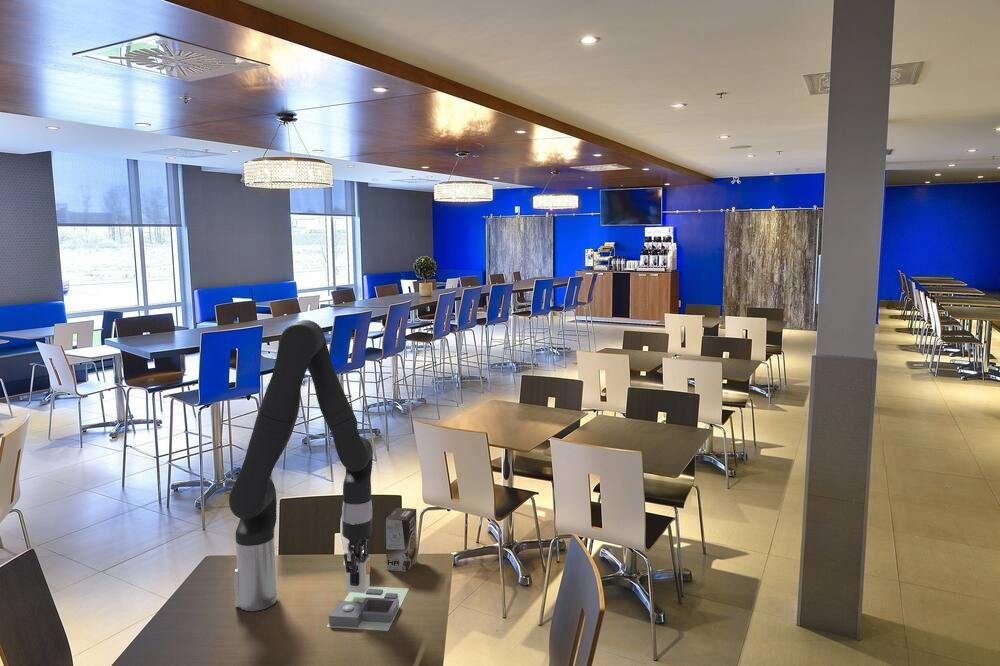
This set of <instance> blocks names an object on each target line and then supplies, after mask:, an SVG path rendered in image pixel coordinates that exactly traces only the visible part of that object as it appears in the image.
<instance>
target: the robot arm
mask: <svg viewBox="0 0 1000 666" xmlns="http://www.w3.org/2000/svg"><path fill="white" fill-rule="evenodd" d="M307 370H308V372H309V375H310V377H311V380H312V382H313V387H314V391H315V395H316V401H317V403H318V406H319V409H320V413H321V414H322V417H323V419H324V422H325V423H326V425H327V427H328V429H329V431H330V433H331V435H332V438H333V439H332V440H333V443H334V447H335V449H336V453H337V456H338V458H339V461H340V462H341V464H342V465H343V467H344V468H345V476H344V479H343V483H342V484H343V486H342V507H341V508H342V509H341V516H342V535H343V536H344V537H345V538H347V539H348V540H349V543H348V547H347V550H348V553H345V554H344V553H343V561H344V560H345V566H344V568H345V574H346V573H350V585H351V586H358V585H359V570H360V569H359V568H360V562H362V555H364V556H366V555H369V551H370V550H369V549H370V548H369V546H370V538H371V536H372V534H373V504H372V471H373V470H372V469H373V460H374V459H373V458H374V450H373V449H374V448H373V445H372V444H371V442H370V441H369V439H367V438H366V437H363V436H361V435H360V432H359V430H358V425H359V424H358V420H357V417H356V415H355V412H354V411H353V408H352V406H351V404H350V402H349V400H348V398H347V396H346V393H345V392H344V389H343V387H342V384H341V382H340V379H339V377H338V375H337V372H336V370H335V367H334V364H333V360H332V358H331V354H330V351H329V347H328V343H327V341H326V337H325V333H324V330H323V328H322V327H321V325H320V324H318V323H317V322H316V321H313V320H310V319H304V320H303V319H302V320H300V321H296V322H293V323H291V324H290V325H287V326H286V328H285V329H283V331H282V333H281V335H280V338H279V342H278V347H277V352H276V357H275V362H274V367H273V371H272V375H271V377H270V379H269V382H268V383H267V387H266V390H265V392H264V395H263V399H262V401H261V404H260V405H259V408H258V412H257V415H256V418H255V422H254V425H253V430H252V432H251V436H250V439H249V441H248V445H247V449H246V452H245V453H246V454H245V456H244V460H243V463H242V466H241V468H240V470H239V472H238V475H237V477H236V480H235V481H234V484H233V485H232V488H231V490H230V493H229V496H228V505H229V508H230V512H231V513H232V514H233V516H235V517H237V518H239V521H238V525H237V527H236V529H235V535H234V536H235V552H236V569H235V570H234V572H233V579H234V580H233V584H234V585H233V586H234V603H235V606H234V607H235V608H240V609H241V610H243V611H247V612H258V611H262V610H265V609H268V608H270V607H272V606H273V605H274V604H275V603H276V602H277V600H278V594H277V593H278V591H277V589H278V588H277V570H276V569H277V567H276V546H275V527H276V524H277V490H276V486H275V484H274V481H273V480H272V479H271V477H272V476H271V475H272V472H273V470H274V468H275V466H276V464H277V463H278V460H279V459H280V457H281V456H282V454H283V452H284V451H285V448H286V447H287V445H288V443H289V441H290V440H291V436H292V434H293V432H294V428H295V425H296V422H297V419H298V416H299V412H300V406H301V405H300V404H301V389H302V384H303V380H304V377H305V374H306V373H307ZM356 557H358V558H359V559H356ZM356 563H357V565H356Z"/></svg>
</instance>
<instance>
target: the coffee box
mask: <svg viewBox="0 0 1000 666" xmlns="http://www.w3.org/2000/svg"><path fill="white" fill-rule="evenodd" d="M417 522H418V521H417V508H408V507H402V508H401V507H395V508H394V510H392V511H391V513H390V514H388V516H387V517H386V518H385V544H386V545H385V546H386V547H385V550H386V552H385V553H386V554H385V556H386V559H385V560H386V571H393V572H394V571H395V572H403V573H404V572H406V573H407V572H408V571H409V570H410V569H411V568H412V566H413V565H416V564H417V563H418V535H417V534H418V530H417V528H418V527H417V526H418V525H417ZM415 563H416V564H415Z"/></svg>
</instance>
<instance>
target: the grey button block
mask: <svg viewBox="0 0 1000 666" xmlns="http://www.w3.org/2000/svg"><path fill="white" fill-rule="evenodd" d="M362 611H367V602H359V601H357V602H352V601H344V600H339V601H338V602H337V604H336V605H335V606H334V608H333V609H332V611H331V612H330V613H329V615H328V624H329V626H341V627H357V628H358V626H359V625H360V623H361V613H362Z"/></svg>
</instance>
